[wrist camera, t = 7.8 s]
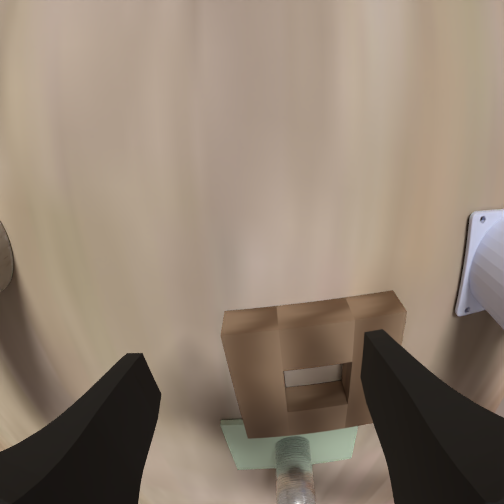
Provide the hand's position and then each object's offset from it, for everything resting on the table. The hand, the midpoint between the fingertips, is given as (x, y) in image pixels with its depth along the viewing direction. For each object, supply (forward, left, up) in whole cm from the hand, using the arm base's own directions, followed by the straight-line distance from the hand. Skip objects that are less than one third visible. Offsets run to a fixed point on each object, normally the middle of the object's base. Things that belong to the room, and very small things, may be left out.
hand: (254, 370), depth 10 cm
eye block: (-3, +9, -10) cm, 14 cm away
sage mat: (-1, +20, -10) cm, 22 cm away
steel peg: (-1, +20, -9) cm, 21 cm away
